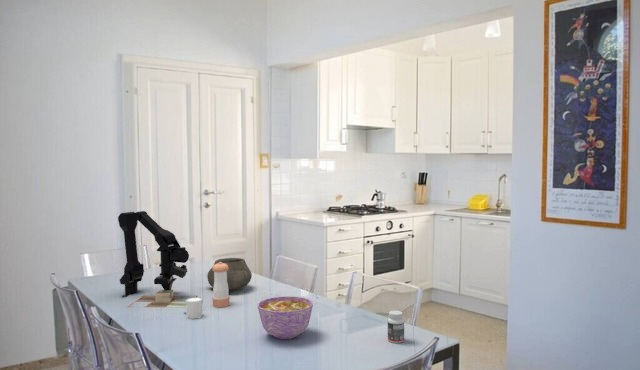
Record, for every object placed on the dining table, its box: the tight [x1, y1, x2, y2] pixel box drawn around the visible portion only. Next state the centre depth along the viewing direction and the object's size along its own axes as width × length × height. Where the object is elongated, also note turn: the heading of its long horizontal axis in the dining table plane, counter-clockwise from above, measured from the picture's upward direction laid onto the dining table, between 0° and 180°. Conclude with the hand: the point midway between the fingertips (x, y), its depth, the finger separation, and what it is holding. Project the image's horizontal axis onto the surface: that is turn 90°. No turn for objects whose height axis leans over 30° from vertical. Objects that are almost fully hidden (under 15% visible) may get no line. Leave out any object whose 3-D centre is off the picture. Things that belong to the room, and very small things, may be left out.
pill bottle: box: [387, 310, 405, 344], centre depth 178 cm, size 6×6×10 cm
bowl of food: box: [257, 295, 314, 340], centre depth 185 cm, size 20×20×12 cm
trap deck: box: [127, 295, 198, 308], centre depth 227 cm, size 18×26×2 cm
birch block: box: [154, 289, 174, 302], centre depth 228 cm, size 6×6×4 cm
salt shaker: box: [211, 262, 231, 308], centre depth 224 cm, size 7×7×19 cm
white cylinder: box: [185, 297, 204, 320], centre depth 209 cm, size 7×7×7 cm
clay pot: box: [206, 257, 253, 292], centre depth 250 cm, size 22×21×15 cm
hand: (168, 295), depth 233 cm, fingers closed
